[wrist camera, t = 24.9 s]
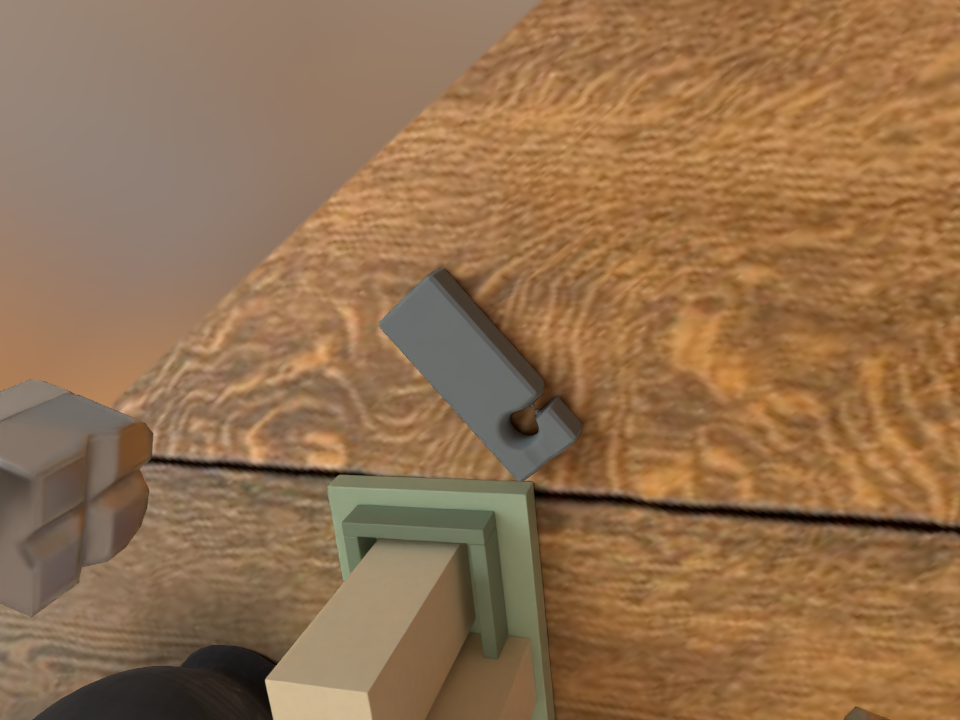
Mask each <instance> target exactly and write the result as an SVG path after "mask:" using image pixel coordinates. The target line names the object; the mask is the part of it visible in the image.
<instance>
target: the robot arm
mask: <svg viewBox="0 0 960 720" xmlns="http://www.w3.org/2000/svg"><path fill="white" fill-rule="evenodd" d="M152 444H153V433H152V431H151V430H150V429H149V428H148V426H147V425H146V424H145V423H144V422H141V421H139V420H137V419H134V418H132V417H130V416H127V415H125V414H123V413H120V412H118V411H116V410H113V409H111V408H108V407H106V406H104V405H101V404H99V403H97V402H94V401H92V400H90V399H87V398H85V397H82V396H80V395H75V394H74V393H72V392H71V391H68V390H65V389H63V388H60V387H58V386H55V385H53V384H50V383H48V382H45V381H38V380H28V381H25V382H23V383H20V384H18V385H15V386H13V387H10V388H8V389H5V390H3V391H0V604H3V605H5V606H7V607H10V608H12V609H14V610H17V611H19V612H21V613H24V614H26V615H28V616H31V617H33V616H34V615H35V614H37V613H38V612H40V611H41V610H42V609H44V608H45V607H46V606H48V605H49V604H50V603H52V602H53V601H55V600H56V599H57V598H59V597H60V596H61V595H63V594H64V593H65V592H67V591H68V590H70V589H71V588H72V587H74V586H75V585H76V584H78V583H79V578H80V574H81V569H82V567H84V566H89V565H94V564H98V563H103V562H107V561H109V560H110V559H111V558H113V557H114V556H115V555H117V554H118V553H119V552H120V551H122V550H123V549H124V548H125V547H126V546H127V545H128V543H129V542H130V541H131V539H132V538H133V536H134V535H135V534H136V532H137V531H138V529H139V528H140V527H141V524H142V521H143V518H144V515H145V512H146V510H147V504H148V495H149V489H148V486H147V484H146V482H145V480H144V478H143V476H142V473H141V471H140V468H141V467H142V466H144V465H145V464H146V463H147V462H148V461H149V460H150V459H151V458H152ZM844 720H890V719H887V718H885V717H882V716H880V715H877V714H874V713H872V712H869V711H867V710H864V709H861V708H859V707H855V708H854V709H853V710H852V711H851V712H849V713H848V714H847V715H846V716H845V718H844Z"/></svg>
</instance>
